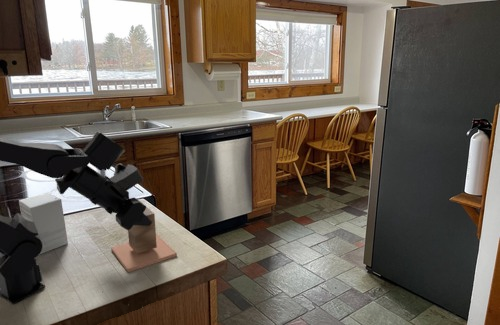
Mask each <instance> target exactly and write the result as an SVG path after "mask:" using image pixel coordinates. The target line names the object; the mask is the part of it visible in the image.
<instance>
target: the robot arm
mask: <svg viewBox="0 0 500 325" xmlns="http://www.w3.org/2000/svg"><path fill="white" fill-rule="evenodd" d="M125 151H126V149H125V148H123V146H121V145H120V144H118V143H117V142H116V141H114V140H113V139H111V138H109V137H107V136H106V135H105V134H103V133H102V132H101V131H99V130H98V131H96V133H94V135H93V136H92V139H91V140H90V141H89V142H88V143H87V144H86V146H85V147H84V148H83V149H81V148H64V147H62V146H61V145H58V144H54V143H42V142H19V141H14V140H10V139H5V138H2V137H0V162H4V163H10V164H16V165H18V166H22V167H24V168H26V169H28V170H30V171H32V172H33V173H37V174H40V175H43V176H46V177H48V178H52V179H55V180H54V181H55V183H56V189H57V191H58V193H59V194H60V195H64V193H65V192H67V190H69V188H70V189H71V190H73V191H75V192H76V193H78V194H79V195H81V196H83V197H84V198H86V199H88V200H89V201H90V202H91V204H93V205H95V206H97V205H98V206H99V207H101V208H102V209H104V210H105V212H107V213H108V214H110V215H112V214H113V213H114V214H115V221H116V223H117V224H118V225H119V226H120V227H121V228H123V229H124V230H126V231H128V230H130V229H131V228H132V226H133V225H141V226H150V225H151V224H152V222H151V220H150V219H149V218H148V217H147V216H146V215H145V214H144V213H143V212H144V211H145V210H146V207H147V205H145V204H144V203H143V202H141V201H140V200H139V199H138V198H136V197H130V192H129V191H128V190H130V189H132V188H133V187H135V186H137V184H140V183H142V182H143V181H144V178H143V176H142V174H141V172H140V170H139V169H138V168H137V167H136V166H134V165H133V164H127V165H124V164H123V163H117V164H116V165H115V166H114V173H113V175H112V176H111V177H109V176H107V175H103V174H101V173H99V172H98V171H100V172H102V171H103V170H104V171H105V172H106V171H107V170H110V169H111V168H112V167H113V165H114V164H115V163H116V162H117V160H118V159H119V158H120V157H121V156H122V154H123V153H124V152H125ZM89 164H90V165H92V166H93V167H94V168H96V169H97V170H98V171H97V170H95V169H93V168H92V167H91V166H89ZM41 251H42V241H41V239H40V236H39V233H38V230H37V229H36V226H35V224H34V222H32V221H28V220H26V219H25V218H23V217H22V215H21V213H18V212H17V213H16V214H15V215H14V216H13V217H9V216H8V217H7V216H4V215H1V214H0V297H2V298H3V299H4V300H6V301H7V302H9V303H10V304H17V303H19V302H20V301H22V300H25V299H26V298H28V297H30V296H32V295H34V294H36V293H37V292H39V291H42V290H43V289H45V287H46V285H45V284H44V283H42V282H43V281H42V280H43V277H42V271H41V266H40V264H38V263H37V259H36V258H37V257H38V256H39V255H41V254H40V253H41Z"/></svg>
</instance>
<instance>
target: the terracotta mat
mask: <svg viewBox="0 0 500 325" xmlns="http://www.w3.org/2000/svg"><path fill="white" fill-rule="evenodd" d="M156 244H157V248H153V249H150V250H147V251H144V252H141V253H136V252H135V251H134V250H133V249H132V248H131V247H130V245H129V241H128V242H125V243H121V244H119V245H118V244H117V245H114V246H112V247H111V248H110V250H111V252H112V253H113V255H114V256H115V257H116V258H117V259H118V261H119V263H121V265H122V267H123V268H124V269H125V270H126V272H127V273H130V272H133V271H136V270H138V269H139V270H140V269H142V268H145V267H148V266H150V265H154V264H156V263H159V262H164V261H165V260H168V259H172V258H174V257H177V253H178V252H177V251H175V250H174V249H173V248H172V247H171V246H170V245H169V244H168V243H167V242H166V241H165V240H164V239H162V238H161V237H160V236H159V235H158V234H157V233H156Z"/></svg>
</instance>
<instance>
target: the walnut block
mask: <svg viewBox="0 0 500 325" xmlns="http://www.w3.org/2000/svg"><path fill="white" fill-rule="evenodd" d="M143 213H144V214H145V215H146V216H147V217H148V218H149V219H150V220H151V222H152V224H151V225H150V226H141V225H133V226H132V228H131V229H130V230H127V234H128V235H127V237H128V242H129V245H130V247H131V248H132V249H133V250H134V251H135V252H136V253H141V252H144V251H147V250H150V249H153V248H157V244H156V234H157V231H156V216H155V215H156V214H155V213H154V212H153V211H152V210H151V209H150V208H148V207H147V206H146V210H145V211H144V212H143Z"/></svg>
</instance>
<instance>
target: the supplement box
mask: <svg viewBox="0 0 500 325" xmlns="http://www.w3.org/2000/svg"><path fill="white" fill-rule="evenodd" d="M18 205H19V210H20V215H21V216H22V217H23V218H25V219H26V220H28V221H32V222H34V224H35V226H36V229H37V230H38V233H39V236H40V239H41V241H42V251H41V253H40V254H39V255H43V254H45V253H47V252H50V251H53V250H54V249H57V248H60V247H62V246H65V245H68V243H69V241H68V235H67V228H66V223H65V215H64V208H63V201H62V199H61V198H60V197H58V196H57V195H54V194H52V193H50V192H45V193H42V194H38V195H33V196H30V197H27V198H23V199H19V200H18Z"/></svg>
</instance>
